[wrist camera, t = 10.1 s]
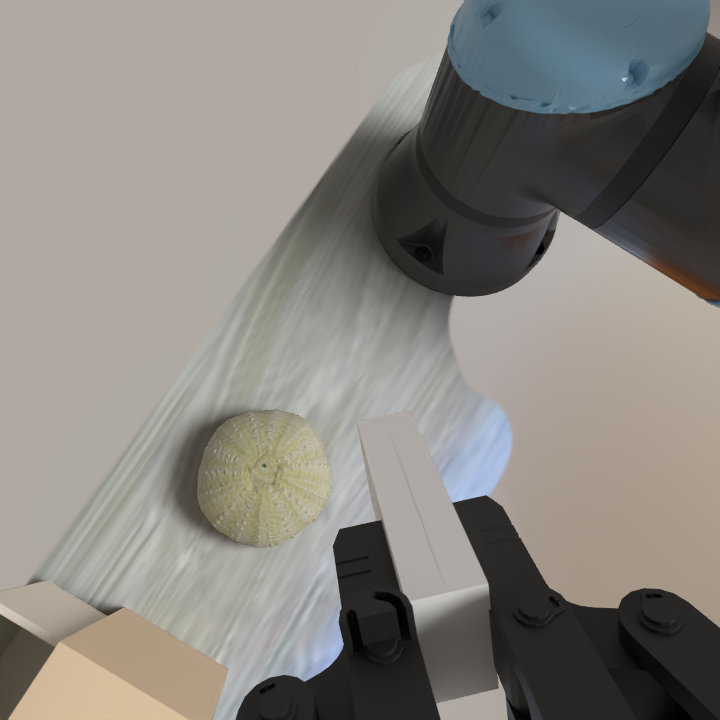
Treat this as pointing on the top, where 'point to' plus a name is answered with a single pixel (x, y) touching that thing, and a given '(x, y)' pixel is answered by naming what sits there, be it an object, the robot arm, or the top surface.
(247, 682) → the top surface
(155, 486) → the top surface
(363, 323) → the top surface
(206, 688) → the sleeve
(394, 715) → the robot arm
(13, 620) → the drawer box
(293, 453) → the sea urchin shell
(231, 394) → the top surface
